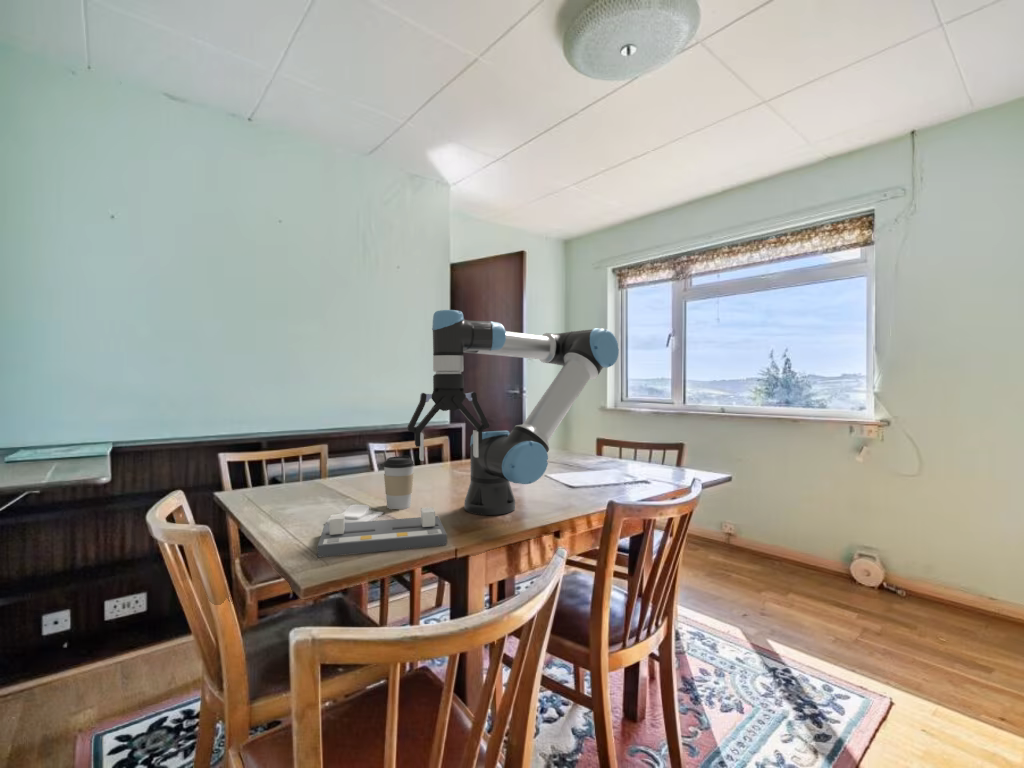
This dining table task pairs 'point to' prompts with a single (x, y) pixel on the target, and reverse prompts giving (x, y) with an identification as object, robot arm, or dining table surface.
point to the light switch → (359, 514)
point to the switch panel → (381, 536)
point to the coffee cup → (398, 481)
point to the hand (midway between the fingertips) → (449, 458)
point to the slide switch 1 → (337, 524)
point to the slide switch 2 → (427, 517)
